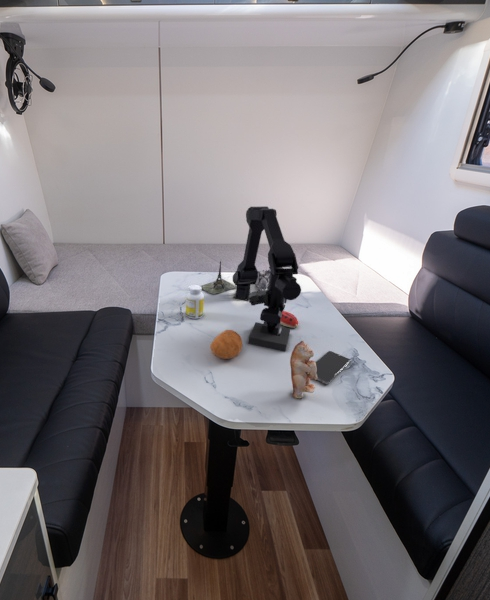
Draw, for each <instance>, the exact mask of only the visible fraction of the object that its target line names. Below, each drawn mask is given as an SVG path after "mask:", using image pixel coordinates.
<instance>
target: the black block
mask: <svg viewBox="0 0 490 600" xmlns="http://www.w3.org/2000/svg"><path fill="white" fill-rule="evenodd" d="M262 324H263V327H262V333H266V334H271V335H276V336H279V334H280V330H281V329H280V328H281V324H280V323H279V324H277V326H276V327H275V329H274V330H273V332H272V333H269V332H268V327H267V321H263V323H262Z"/></svg>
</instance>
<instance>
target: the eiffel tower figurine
mask: <svg viewBox="0 0 490 600" xmlns="http://www.w3.org/2000/svg"><path fill="white" fill-rule="evenodd" d="M221 270H222V261H221V260H220V261H219V268H218V275H217V277H216V279H215V281H212V282H209V283H206V284H202V285H200V286H201V287H202V291H203V290H204V291H205V292H208V293H210V294H212V295H214V294H220V293H222V292H225V291H229V290H233V289H236V287H237V285H235V284H234V283H231V282H229V281H227V280H225V279H223V278H222V271H221Z"/></svg>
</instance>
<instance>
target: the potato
mask: <svg viewBox="0 0 490 600" xmlns="http://www.w3.org/2000/svg"><path fill="white" fill-rule="evenodd" d="M242 348H243V340H242V336H241V334H239V333H238V332H237V331H235V330H233V329H225V330H224V331H222V332H221V333H219V334H218V335H217V336H216V337H215V338H214V339H213V340H212V341H211V344H210V351H211V354H213V356H215V357H217V358H218V359H219V358H220V359H224V360H229V359H233V358H235V357H238V356H239V354H240V353H241V352H242Z"/></svg>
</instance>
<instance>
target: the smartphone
mask: <svg viewBox="0 0 490 600" xmlns="http://www.w3.org/2000/svg"><path fill="white" fill-rule="evenodd" d="M314 362H315V363H316V367H317V372H316V374H317V379H316V380H315V381H318V382H319V383H322V384H324V385H329V384H330V383H331V382H332V381H333V380H334V379H335V378H336V377H337V376H338V375H339V374H340V373H341V372H342V371H343V370H344V369H345V368H346V367H347V366H348V365H349V364H350V363H351V362H352V360H351V359H350V358H349V357H346V356H343V355H341V354H339V353H337V352H334V351H331V350H328V351H326V352H325V353H324V354H323V355H322V356H321V357H319V358H318V359H317V360H316V361H314Z"/></svg>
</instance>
